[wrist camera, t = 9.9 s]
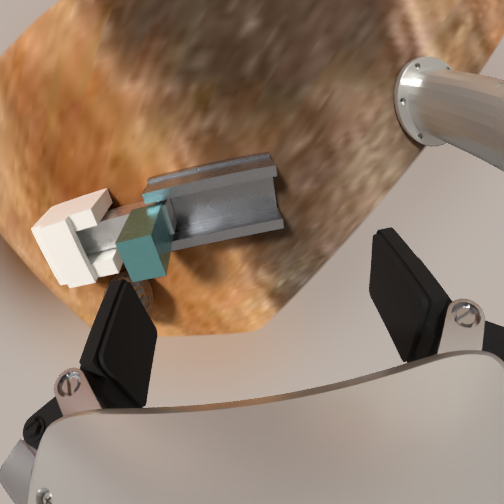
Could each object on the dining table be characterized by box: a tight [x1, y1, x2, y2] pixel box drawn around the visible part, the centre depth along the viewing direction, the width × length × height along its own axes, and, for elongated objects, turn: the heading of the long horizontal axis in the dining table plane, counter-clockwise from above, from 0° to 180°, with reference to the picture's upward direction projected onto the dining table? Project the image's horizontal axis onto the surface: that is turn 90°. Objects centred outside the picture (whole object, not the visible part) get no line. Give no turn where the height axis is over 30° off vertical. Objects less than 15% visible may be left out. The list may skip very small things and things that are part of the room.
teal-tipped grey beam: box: [76, 199, 177, 282], centre depth 30 cm, size 14×4×10 cm, turn 99°
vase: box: [104, 271, 154, 315], centre depth 37 cm, size 7×7×9 cm
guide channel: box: [142, 152, 284, 251], centre depth 33 cm, size 14×8×4 cm, turn 99°
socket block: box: [31, 188, 123, 288], centre depth 32 cm, size 9×8×7 cm
